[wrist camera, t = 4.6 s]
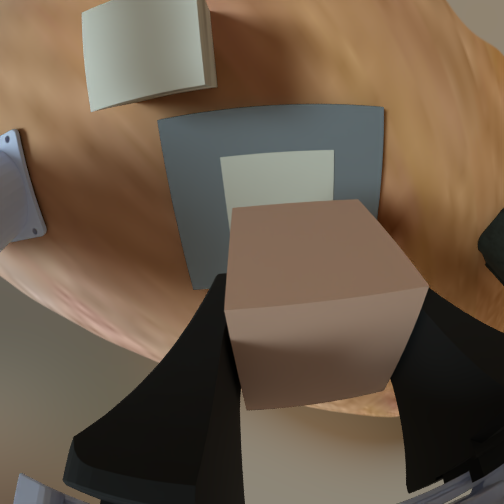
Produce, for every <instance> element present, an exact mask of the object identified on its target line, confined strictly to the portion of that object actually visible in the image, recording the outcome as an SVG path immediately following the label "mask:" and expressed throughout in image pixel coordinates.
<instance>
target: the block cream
mask: <svg viewBox="0 0 504 504" xmlns="http://www.w3.org/2000/svg"><path fill="white" fill-rule="evenodd" d="M82 35H83V50H84V62H85V72H86V80H87V88H88V95H89V102H90V109H91V112H93V111H97V110H102V109H106V108H111V107H116V106H121V105H126V104H131V103H136V102H140V101H144V100H149V99H153V98H157V97H162V96H167V95H172V94H177V93H183V92H188V91H194V90H201V89H207V88H215V87H218V86H217V77H216V67H215V58H214V48H213V38H212V28H211V18H210V10H209V8H208V6H207V3H206V1H205V0H111V1H109V2H106V3H104V4H101V5H99V6H96V7H94V8H92V9H89V10H87V11H85V12H83V13H82Z"/></svg>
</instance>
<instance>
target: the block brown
mask: <svg viewBox="0 0 504 504" xmlns="http://www.w3.org/2000/svg"><path fill="white" fill-rule="evenodd" d="M428 288H429V285H428V283H427V282H426V281H425V279H424V278H423V277H422V275H421V274H420V273H419V271H418V270H417V269H416V267H415V266H414V265H413V263H412V262H411V261H410V260H409V258H408V257H407V256H406V254H405V253H404V252H403V251H402V249H401V248H400V247H399V246H398V245H397V243H396V242H395V241H394V240H393V238H392V237H391V236H390V235H389V234H388V232H387V231H386V230H385V229H384V228H383V227H382V225H381V224H380V223H379V222H378V221H377V220H376V218H375V217H374V216H373V215H372V214H371V213H370V212H369V211H368V209H367V208H366V207H365V206H364V205H363V204H362V203H361V202H360V201H359V200H358V199H351V200H331V201H314V202H298V203H284V204H271V205H259V206H248V207H237V208H232V218H231V229H230V241H229V253H228V266H227V279H226V292H225V306H224V312H225V316H226V321H227V326H228V331H229V335H230V340H231V345H232V349H233V354H234V358H235V363H236V367H237V371H238V376H239V380H240V384H241V389H242V393H243V397H244V401H245V405H246V409H247V410H264V409H275V408H286V407H295V406H304V405H311V404H318V403H325V402H331V401H337V400H342V399H348V398H353V397H358V396H363V395H367V394H372V393H376V392H380V391H384V389H385V387H386V385H387V383H388V382H389V380H390V378H391V376H392V374H393V372H394V370H395V368H396V366H397V364H398V362H399V360H400V357H401V355H402V353H403V351H404V349H405V347H406V344H407V342H408V340H409V337H410V335H411V333H412V330H413V328H414V326H415V323H416V321H417V318H418V316H419V313H420V310H421V308H422V305H423V302H424V299H425V297H426V294H427V291H428Z"/></svg>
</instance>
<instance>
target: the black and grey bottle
mask: <svg viewBox="0 0 504 504" xmlns="http://www.w3.org/2000/svg"><path fill="white" fill-rule="evenodd" d="M478 250H479V251H480V252H481V253H482V254H483V256H484V259H485V261H486V264H485V265H486V267H487V268H488V269H489V270H490V271H491V272H492V273H493V274H494V275H495V276H496V278H497V279H498V280H499V281H500V282H501V283H502V284H503V286H504V208H503V209H502V210H501V212H500V213H499V214H498V215H497V217H496V218H495V219H494V220H493V221H492V223H491V224H490V225H489V226H488V227H487V229H486V230H485V231H484V232H483V233H482V235H481V237H480V239H479V241H478Z"/></svg>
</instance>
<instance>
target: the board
mask: <svg viewBox="0 0 504 504" xmlns="http://www.w3.org/2000/svg"><path fill="white" fill-rule="evenodd" d="M157 121H158V128H159V134H160V140H161V146H162V151H163V157H164V162H165V168H166V173H167V178H168V183H169V188H170V193H171V198H172V203H173V207H174V212H175V216H176V221H177V225H178V230H179V234H180V238H181V242H182V247H183V251H184V255H185V259H186V263H187V267H188V271H189V275H190V278H191V282H192V286H193V290H197V289H210V287H211V285H212V283H213V281H214V279H215V277H216V276H217V275H218V274H222V273H227V266H228V253H229V241H230V229H231V218H232V208H237V207H248V206H259V205H271V204H284V203H298V202H314V201H331V200H351V199H358V200H359V201H360V202H361V203H362V204H363V205H364V206H365V207H366V208H367V209H368V211H369V212H370V213H371V214H372V215H373V216H374V217H375V218H376V220H377V215H378V207H379V197H380V186H381V174H382V159H383V136H384V107H377V106H364V105H344V104H287V105H267V106H253V107H241V108H232V109H223V110H215V111H207V112H200V113H194V114H188V115H182V116H176V117H171V118H165V119H160V120H157Z"/></svg>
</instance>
